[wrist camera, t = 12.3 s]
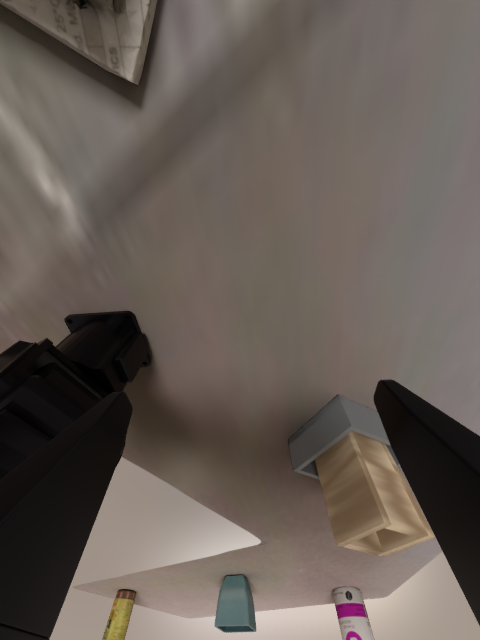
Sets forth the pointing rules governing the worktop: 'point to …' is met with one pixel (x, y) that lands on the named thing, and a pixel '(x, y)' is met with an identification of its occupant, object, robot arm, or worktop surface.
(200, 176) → the worktop surface
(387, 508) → the tall pine crate
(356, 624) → the supplement can
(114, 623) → the sauce bottle
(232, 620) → the flower pot
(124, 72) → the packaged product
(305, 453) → the grey square tray
